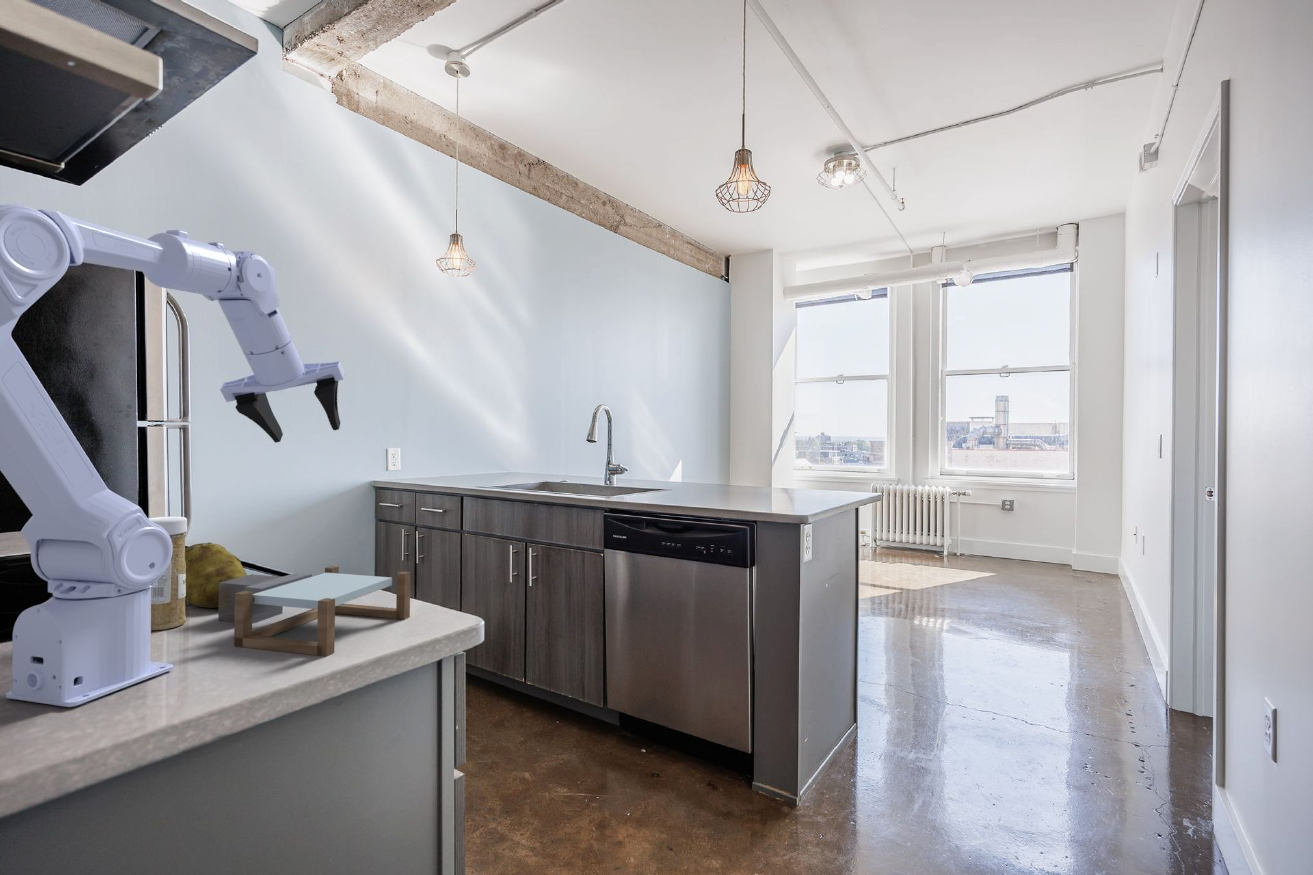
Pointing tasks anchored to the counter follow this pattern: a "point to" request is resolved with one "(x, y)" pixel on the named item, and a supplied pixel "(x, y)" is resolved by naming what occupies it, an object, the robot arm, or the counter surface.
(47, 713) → the counter surface
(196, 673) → the counter surface
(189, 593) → the potato
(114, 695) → the counter surface
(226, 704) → the counter surface
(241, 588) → the iron block
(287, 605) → the trapdoor
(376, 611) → the frame
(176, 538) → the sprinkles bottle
